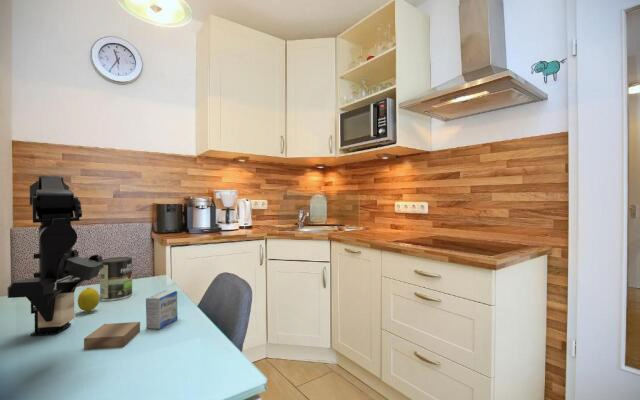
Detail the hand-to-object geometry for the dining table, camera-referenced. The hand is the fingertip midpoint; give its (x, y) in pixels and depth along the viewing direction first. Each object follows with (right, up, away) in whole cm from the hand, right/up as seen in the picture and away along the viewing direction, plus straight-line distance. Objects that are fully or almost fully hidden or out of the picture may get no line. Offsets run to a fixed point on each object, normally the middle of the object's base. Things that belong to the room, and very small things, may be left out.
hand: (56, 317), depth 69 cm
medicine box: (+13, -10, +21) cm, 27 cm away
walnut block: (+5, -10, +11) cm, 16 cm away
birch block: (0, -1, 0) cm, 1 cm away
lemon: (-16, -10, +31) cm, 36 cm away
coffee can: (-17, -10, +47) cm, 51 cm away
